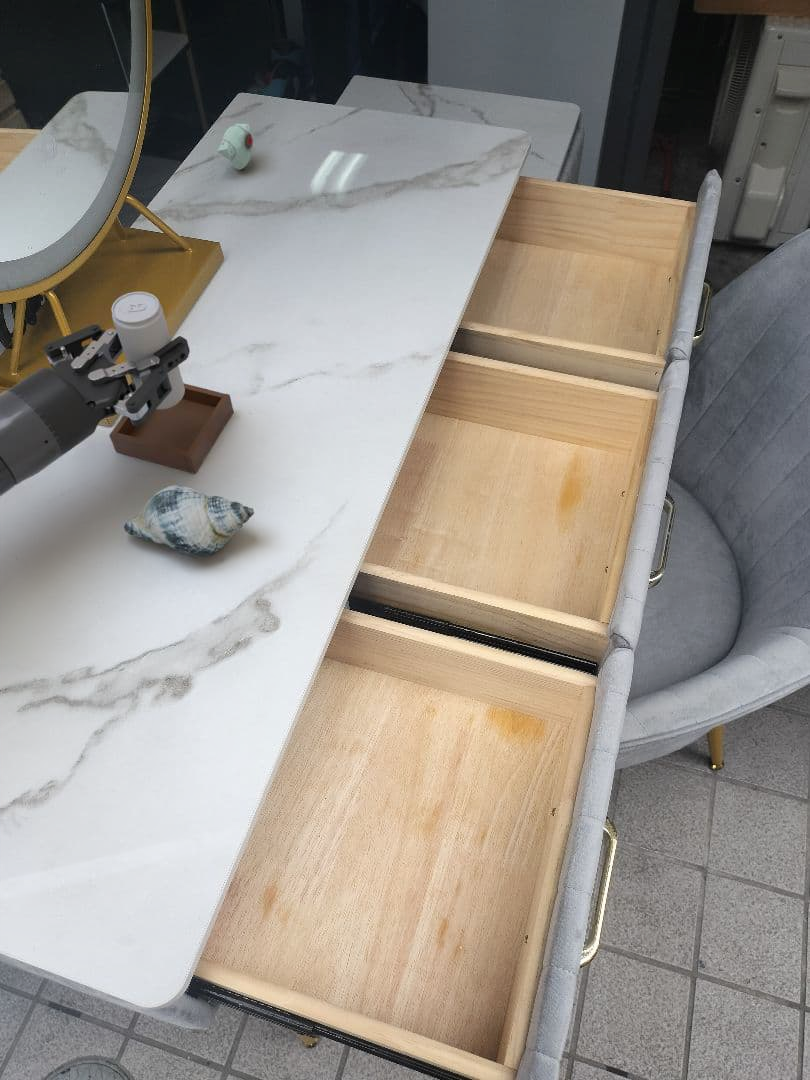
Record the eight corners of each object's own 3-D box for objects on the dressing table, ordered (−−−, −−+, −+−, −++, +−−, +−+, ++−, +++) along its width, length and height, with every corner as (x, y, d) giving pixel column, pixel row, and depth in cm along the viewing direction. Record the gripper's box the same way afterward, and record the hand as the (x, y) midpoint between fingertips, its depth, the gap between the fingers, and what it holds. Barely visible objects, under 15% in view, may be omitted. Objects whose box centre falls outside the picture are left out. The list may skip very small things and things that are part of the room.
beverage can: (139, 384, 89) (109, 294, 80) (184, 377, 90) (159, 287, 80) (141, 415, 87) (110, 326, 77) (187, 408, 87) (162, 319, 78)
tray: (116, 452, 92) (108, 435, 89) (158, 392, 97) (152, 374, 95) (195, 474, 90) (190, 457, 88) (234, 411, 95) (229, 394, 93)
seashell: (168, 507, 89) (256, 553, 86) (117, 534, 83) (209, 585, 80) (171, 456, 86) (263, 503, 82) (118, 481, 80) (214, 532, 76)
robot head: (242, 152, 126) (235, 109, 121) (266, 158, 126) (260, 114, 120) (218, 180, 122) (209, 136, 117) (242, 185, 121) (235, 141, 116)
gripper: (65, 435, 71) (209, 333, 78) (-33, 363, 76) (112, 274, 83) (91, 489, 77) (223, 390, 85) (-1, 419, 82) (131, 332, 90)
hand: (167, 333), depth 84 cm, fingers closed on beverage can, 4 cm apart
